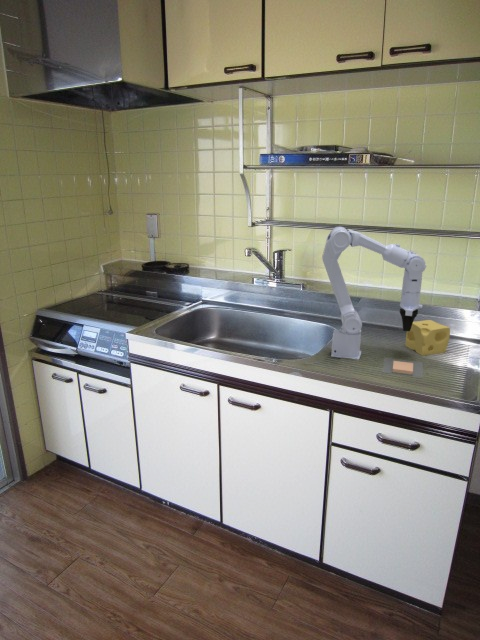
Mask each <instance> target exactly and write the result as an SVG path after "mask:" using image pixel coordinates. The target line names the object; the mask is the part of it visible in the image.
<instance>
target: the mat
mask: <svg viewBox="0 0 480 640" xmlns="http://www.w3.org/2000/svg"><path fill="white" fill-rule="evenodd" d="M394 361H400V362H408V363H413V375H406V374H398V373H393V372H392V370H393V362H394ZM423 366H424V365H423V361H416V360H408V359H407V360H406V359H400V358H399V359H398V358H390V357H384V359H383V366H382V371H381V373H383V374H389V375H396V376H397V375H398V376H405V377H413V378H418V379H419V378H420V379H423V378H424V375H423V374H424V373H423V371H424V370H423V369H424V368H423Z"/></svg>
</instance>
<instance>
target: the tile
mask: <svg viewBox="0 0 480 640" xmlns="http://www.w3.org/2000/svg"><path fill="white" fill-rule="evenodd" d="M392 372H393V373H398V374H406V375H413V363H408V362H400V361H394V362H393V370H392Z"/></svg>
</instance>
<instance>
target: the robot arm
mask: <svg viewBox="0 0 480 640" xmlns="http://www.w3.org/2000/svg"><path fill="white" fill-rule="evenodd" d="M359 246H360V247H363V248H366V249H368V250H370V251H373V252H375V253H377V254H379V255H381V257H382V260H383V261H385V262H387V263H389V264H392V265H394V266H396V267H398V268H400V269H404V270H403V271H404V272H403V277H402V288H401V294H400V295H401V296H400V303H399V307H400V309H399V314H400V316H401V322H402V330H403V331H404V332H407V331H410V330H411V327H412V324H413V322H415V321H414V320H415V318H416V317H417V316H418V313H419V310H418V309H423V304H422V303H421V304H420V299H421V298H420V297H421V290H422V281H423V273H424V272H425V270H426V268H427V265H426V261H425V259H424V258H423V257H421V256H420V255H419V254H417V253H416V252H414V251H413V250H407V249H405V248H402V247H401V245H400V244H398V243H390V244H384V243H382V242H380V241H378V240H376V239H374V238H372V237H369V236H367V235H365V234H363V233H361V232H359V231H356V230H353V229H350V228H347V229H346V227H344V226H335V227H334V228H332V229H331V231H330V232H329V234H328V235H327V236H326V241H325V245H324V248H323V253H322V257H321V259H322V263H323V264H324V265H323V266H324V268H325V271H326V273H327V276H328V279H329V281H330V285H331V287H332V291H333V293H334V296H335V300H336V302H337V305H338V308H339V311H340V313H341V314H340V321H341V323H342V325H341V326H340V327H339V329H338V328H336V329H335V328H334V330H333V333H332V338H331V355H330V357H332V358H336V359H337V358H339V359H341V358H344V359H345V358H346V359H352V360H353V359H354V360H359V359H360V357H361V355H362V350H361V339H362V327H363V322H362V320H361V318H360V314H359V311H357V310H356V309H355V308H354V305H353V303H352V299H351V295H350V293H349V291H348V287H347V284H346V282H345V281H346V280H345V279H344V276H343V273H342V270H341V267H340V265H339V261H338V260H339V258H340V257H341V255H342V253H344V251H345V250H346V249H347V248H348V247H352V248H353V247H354V248H355V247H359Z"/></svg>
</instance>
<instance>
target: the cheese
mask: <svg viewBox="0 0 480 640" xmlns="http://www.w3.org/2000/svg"><path fill="white" fill-rule="evenodd" d="M405 333H406V336H405V344H404V345H405V347H406V348H409V349H410V350H412V351H415V353H417V354H419V355H420V356H422V357H423V356H428V355H436V354H445V353H446V352H447V348H448V345H449V342H450V337H451V328H450V326H448V325H444V324H441V323H438V322H436V321H434V320H432V319H426V320H425V319H424V320H419V321H418V320H417V321H413V324H412V327H411V330H410V331H406V332H405Z"/></svg>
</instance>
